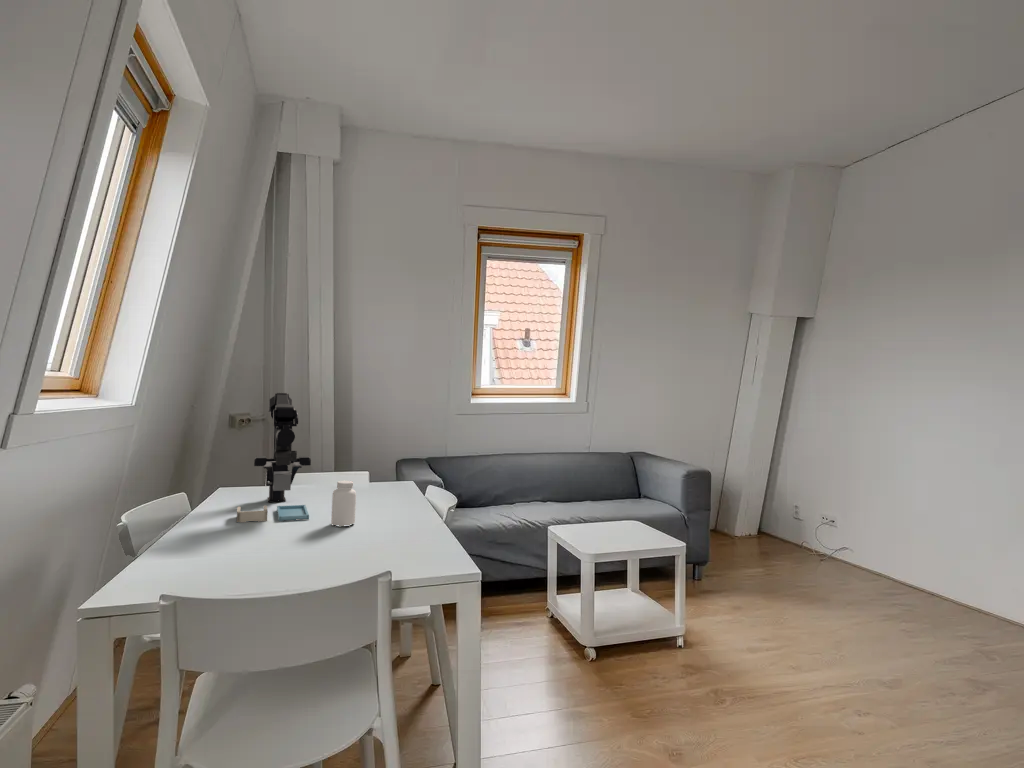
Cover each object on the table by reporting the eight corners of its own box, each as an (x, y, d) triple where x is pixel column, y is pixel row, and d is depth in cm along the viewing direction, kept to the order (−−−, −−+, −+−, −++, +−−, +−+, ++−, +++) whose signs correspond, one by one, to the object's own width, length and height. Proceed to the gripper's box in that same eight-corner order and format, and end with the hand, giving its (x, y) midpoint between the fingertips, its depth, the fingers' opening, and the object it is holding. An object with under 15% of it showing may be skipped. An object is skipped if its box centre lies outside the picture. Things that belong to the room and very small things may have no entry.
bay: (237, 516, 210) (237, 506, 209) (266, 515, 213) (266, 505, 213) (236, 522, 202) (237, 512, 202) (267, 521, 206) (267, 511, 206)
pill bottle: (358, 522, 210) (360, 480, 210) (349, 528, 202) (351, 485, 202) (336, 520, 211) (338, 478, 211) (327, 526, 203) (329, 483, 203)
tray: (277, 510, 221) (277, 506, 221) (305, 508, 225) (305, 504, 225) (278, 521, 207) (279, 516, 206) (308, 519, 211) (309, 515, 210)
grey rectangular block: (272, 483, 219) (273, 469, 219) (289, 483, 221) (289, 468, 221) (273, 490, 208) (274, 475, 208) (290, 490, 210) (291, 474, 210)
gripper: (254, 444, 202) (253, 490, 202) (312, 444, 209) (310, 488, 209) (255, 440, 212) (253, 483, 212) (310, 440, 219) (308, 482, 219)
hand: (281, 484), depth 213 cm, fingers closed on grey rectangular block, 6 cm apart
